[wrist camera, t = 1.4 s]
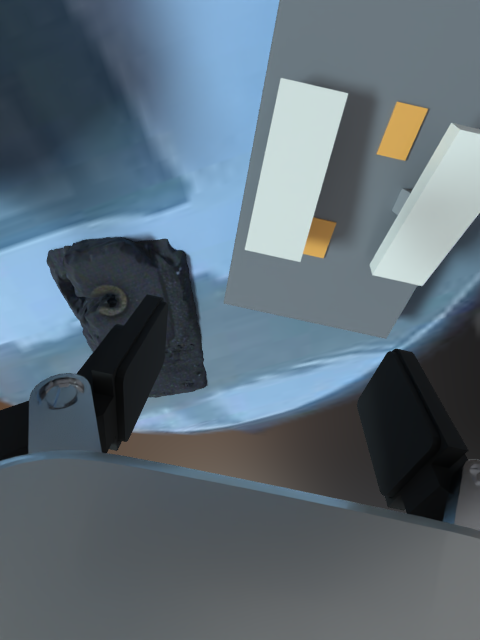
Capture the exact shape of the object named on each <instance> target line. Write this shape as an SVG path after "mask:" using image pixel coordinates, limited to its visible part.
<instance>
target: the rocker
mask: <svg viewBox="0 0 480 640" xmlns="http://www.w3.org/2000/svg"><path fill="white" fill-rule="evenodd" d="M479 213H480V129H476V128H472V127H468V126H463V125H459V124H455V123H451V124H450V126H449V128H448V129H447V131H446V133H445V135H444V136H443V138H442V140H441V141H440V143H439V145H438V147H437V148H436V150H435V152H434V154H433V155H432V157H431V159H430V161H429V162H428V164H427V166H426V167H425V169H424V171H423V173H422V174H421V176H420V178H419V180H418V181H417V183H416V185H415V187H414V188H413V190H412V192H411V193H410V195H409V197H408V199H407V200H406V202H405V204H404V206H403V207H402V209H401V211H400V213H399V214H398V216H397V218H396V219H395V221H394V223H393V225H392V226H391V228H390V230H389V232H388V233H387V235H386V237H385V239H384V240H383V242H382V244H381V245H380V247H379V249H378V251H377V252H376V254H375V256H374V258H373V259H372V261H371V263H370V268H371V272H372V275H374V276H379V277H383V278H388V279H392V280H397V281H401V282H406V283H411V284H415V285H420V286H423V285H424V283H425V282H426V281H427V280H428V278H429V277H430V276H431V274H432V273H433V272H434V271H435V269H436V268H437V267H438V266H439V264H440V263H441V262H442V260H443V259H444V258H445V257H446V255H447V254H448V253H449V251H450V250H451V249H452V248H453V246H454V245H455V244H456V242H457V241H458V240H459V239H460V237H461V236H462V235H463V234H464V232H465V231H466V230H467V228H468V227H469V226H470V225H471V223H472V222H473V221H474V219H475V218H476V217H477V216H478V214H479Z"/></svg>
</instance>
